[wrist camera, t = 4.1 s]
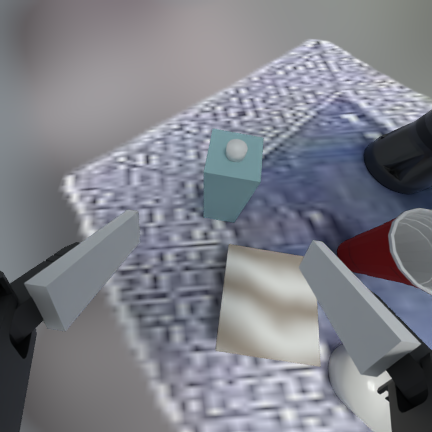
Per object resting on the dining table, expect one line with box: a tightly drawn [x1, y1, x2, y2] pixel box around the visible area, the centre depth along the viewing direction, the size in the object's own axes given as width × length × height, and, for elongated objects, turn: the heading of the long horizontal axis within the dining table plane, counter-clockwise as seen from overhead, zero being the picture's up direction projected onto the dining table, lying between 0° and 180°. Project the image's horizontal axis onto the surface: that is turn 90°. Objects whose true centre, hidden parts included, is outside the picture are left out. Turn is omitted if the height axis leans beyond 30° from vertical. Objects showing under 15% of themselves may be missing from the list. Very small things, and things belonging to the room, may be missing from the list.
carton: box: [204, 129, 263, 223], centre depth 24 cm, size 6×6×16 cm
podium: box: [216, 244, 321, 367], centre depth 25 cm, size 14×14×4 cm
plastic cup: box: [337, 208, 432, 295], centre depth 24 cm, size 11×11×12 cm
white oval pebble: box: [328, 345, 392, 432], centre depth 22 cm, size 8×8×4 cm
